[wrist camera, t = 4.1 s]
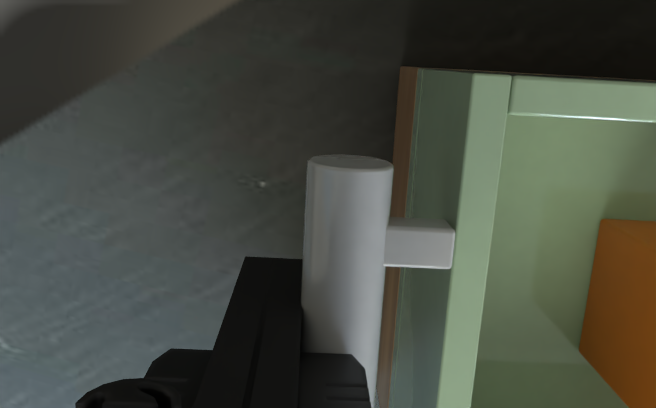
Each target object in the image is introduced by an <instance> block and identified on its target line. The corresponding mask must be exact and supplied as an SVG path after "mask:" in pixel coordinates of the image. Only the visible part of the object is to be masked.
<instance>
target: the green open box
mask: <svg viewBox="0 0 656 408" xmlns="http://www.w3.org/2000/svg"><path fill="white" fill-rule="evenodd" d="M393 175H394V166H393V164H392V163H390V162H388V161H386V160H383V159H379V158H374V157H367V156H358V155H320V156H315V157H312V158H309V159H308V161H307V173H306V195H305V216H304V238H303V259H302V281H301V306H302V319H301V341H300V352H310V353H333V354H352V355H353V356H354V357H355V358H356V359H357V360H358V361H359V363H360V364H361V365H362V366H363V367H364V368H365V372H366V378H367V383H368V389H369V395H370V401H371V407H372V408H374V407H375V395H376V383H377V371H378V359H379V346H380V334H381V322H382V310H383V297H384V285H385V273H386V267H401V269H400V281H399V292H398V303H397V315H396V326H395V337H394V349H393V360H392V372H391V383H390V394H389V406H388V408H629V407H628V406H627V405H626V404H625V403H624V402H623V401H622V399H621V398H620V397H619V396H618V395H617V394H616V393H615V392H614V390H613V389H612V388H611V387H610V386H609V385H608V384H607V383H606V382H605V380H604V379H603V378H602V377H601V376H600V375H599V374H598V373H597V371H596V370H595V369H594V368H593V367H592V366H591V365H590V364H589V362H588V361H587V360H586V359H585V358H584V357H583V356H582V355H581V354H580V352H579V345H580V339H581V333H582V327H583V321H584V315H585V309H586V303H587V298H588V292H589V286H590V280H591V274H592V268H593V262H594V256H595V250H596V244H597V238H598V233H599V227H600V221H601V220H602V219H618V220H639V221H656V81H647V80H629V79H611V78H593V77H575V76H557V75H539V74H521V73H503V72H485V71H467V70H449V69H431V68H419V69H418V76H417V87H416V99H415V110H414V121H413V133H412V144H411V156H410V167H409V178H408V190H407V201H406V212H405V217H390V212H391V199H392V187H393Z"/></svg>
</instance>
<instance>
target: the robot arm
mask: <svg viewBox="0 0 656 408" xmlns="http://www.w3.org/2000/svg"><path fill="white" fill-rule="evenodd" d="M301 281H302V259H283V258H263V257H245V259H244V262H243V265H242V268H241V271H240V274H239V276H238V279H237V282H236V285H235V288H234V291H233V294H232V296H231V299H230V302H229V305H228V308H227V311H226V314H225V316H224V319H223V322H222V325H221V328H220V331H219V334H218V336H217V339H216V342H215V345H214V348H213V350H193V349H170V350H168V351H167V352H165V353H164V354H163V355H161V356H160V357H158V358H157V359H156V360H154V361H153V362H152V364H151V366H150V367H149V369H148V371H147V373H146V375H145V377H144V378H138V379H123V380H119V381H115V382H111V383H107V384H103V385H101V386H99V387H97V388H95V389H93V390H91V391H89V392H87V393H86V394H85V395H84V396H83V397H82V398H81V399H79V400H78V401H77V402H76V403H75V404H76V408H372V407H371V401H370V395H369V389H368V383H367V378H366V372H365V368H364V367H363V366H362V365H361V364H360V363H359V361H358V360H357V359H356V358H355V357H354V356H353V355H352V354H333V353H310V352H300V341H301V319H302V306H301Z"/></svg>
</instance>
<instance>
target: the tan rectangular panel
mask: <svg viewBox="0 0 656 408" xmlns="http://www.w3.org/2000/svg"><path fill="white" fill-rule="evenodd" d="M419 68H426V67H408V66H401V67H400V75H399V87H398V100H397V112H396V125H395V137H394V149H393V162H392V164H393V166H394V175H393V187H392V199H391V212H390V217H405V212H406V201H407V190H408V178H409V167H410V156H411V144H412V133H413V121H414V110H415V99H416V87H417V76H418V69H419ZM431 69H444V68H431ZM449 70H462V69H449ZM467 71H480V70H467ZM485 72H498V71H485ZM503 73H516V72H503ZM521 74H534V73H521ZM539 75H552V74H539ZM557 76H570V75H557ZM575 77H588V76H575ZM593 78H606V77H593ZM611 79H624V78H611ZM629 80H642V79H629ZM647 81H656V80H647ZM400 269H401V267H386V273H385V285H384V297H383V310H382V322H381V334H380V346H379V359H378V371H377V383H376V387H377V393H378V399H379V405H380V408H388V406H389V394H390V383H391V372H392V360H393V349H394V337H395V326H396V315H397V303H398V292H399V281H400Z"/></svg>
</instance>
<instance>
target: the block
mask: <svg viewBox="0 0 656 408" xmlns="http://www.w3.org/2000/svg"><path fill="white" fill-rule="evenodd" d="M579 352H580V354H581V355H582V356H583V357H584V358H585V359H586V360H587V361H588V362H589V364H590V365H591V366H592V367H593V368H594V369H595V370H596V371H597V373H598V374H599V375H600V376H601V377H602V378H603V379H604V380H605V382H606V383H607V384H608V385H609V386H610V387H611V388H612V389H613V390H614V392H615V393H616V394H617V395H618V396H619V397H620V398H621V399H622V401H623V402H624V403H625V404H626V405H627V406H628V407H629V408H656V221H639V220H618V219H602V220H601V221H600V227H599V233H598V238H597V244H596V250H595V256H594V262H593V268H592V274H591V280H590V286H589V292H588V298H587V303H586V309H585V315H584V321H583V327H582V333H581V339H580V345H579Z"/></svg>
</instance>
